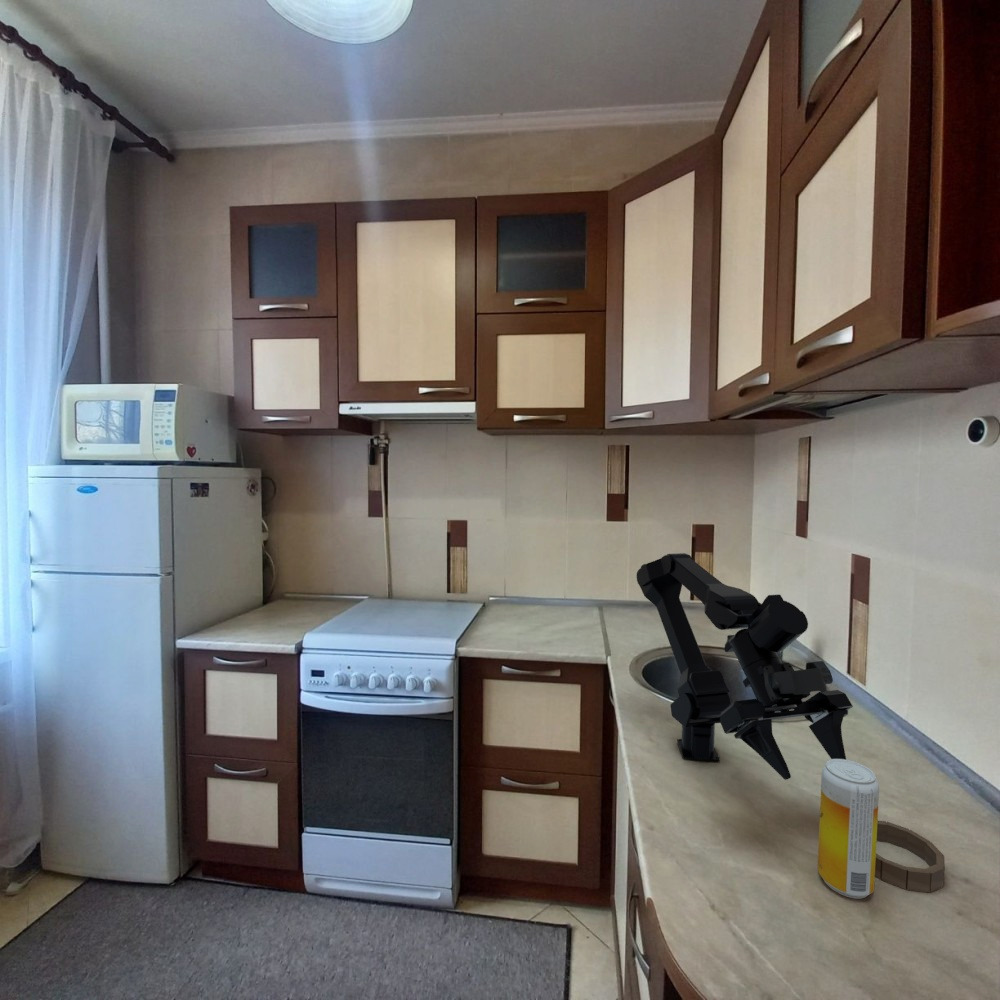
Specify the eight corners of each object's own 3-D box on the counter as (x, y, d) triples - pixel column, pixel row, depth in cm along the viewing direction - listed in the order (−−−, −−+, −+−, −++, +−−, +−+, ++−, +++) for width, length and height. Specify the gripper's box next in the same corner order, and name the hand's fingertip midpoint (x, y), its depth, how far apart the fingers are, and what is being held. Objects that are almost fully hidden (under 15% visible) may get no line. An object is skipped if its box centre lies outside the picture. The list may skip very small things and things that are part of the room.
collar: (837, 833, 78) (838, 816, 77) (913, 840, 76) (914, 824, 76) (874, 886, 68) (875, 867, 68) (962, 896, 66) (964, 877, 66)
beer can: (851, 864, 71) (856, 756, 70) (886, 901, 65) (891, 783, 64) (807, 865, 71) (811, 757, 70) (837, 902, 65) (843, 784, 64)
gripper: (734, 645, 75) (792, 764, 64) (844, 636, 79) (914, 746, 69) (700, 679, 83) (746, 789, 73) (801, 669, 87) (858, 772, 77)
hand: (816, 774), depth 72 cm, fingers open, 9 cm apart
